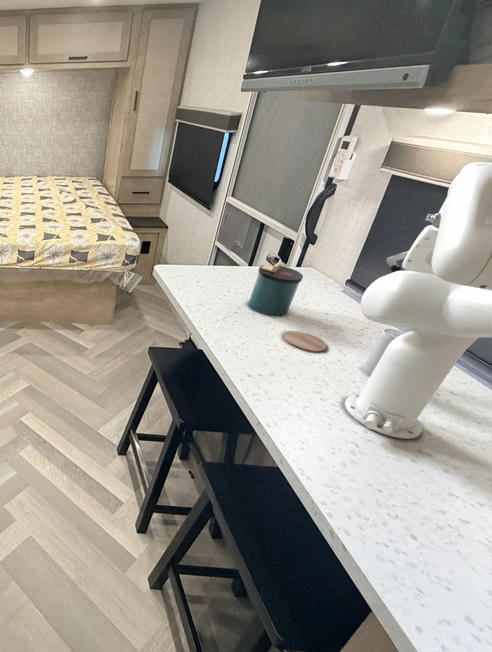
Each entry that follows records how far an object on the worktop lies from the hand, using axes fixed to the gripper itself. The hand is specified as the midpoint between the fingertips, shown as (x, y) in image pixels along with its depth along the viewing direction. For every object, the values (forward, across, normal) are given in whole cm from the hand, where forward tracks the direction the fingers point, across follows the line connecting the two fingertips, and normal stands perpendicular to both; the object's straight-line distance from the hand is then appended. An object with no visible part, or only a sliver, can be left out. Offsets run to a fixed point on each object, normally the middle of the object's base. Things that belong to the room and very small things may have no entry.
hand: (416, 298), depth 91 cm
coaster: (+22, -16, +3) cm, 27 cm away
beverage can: (+22, 0, 0) cm, 22 cm away
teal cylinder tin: (+22, -30, +17) cm, 41 cm away
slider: (+8, -33, +17) cm, 38 cm away
